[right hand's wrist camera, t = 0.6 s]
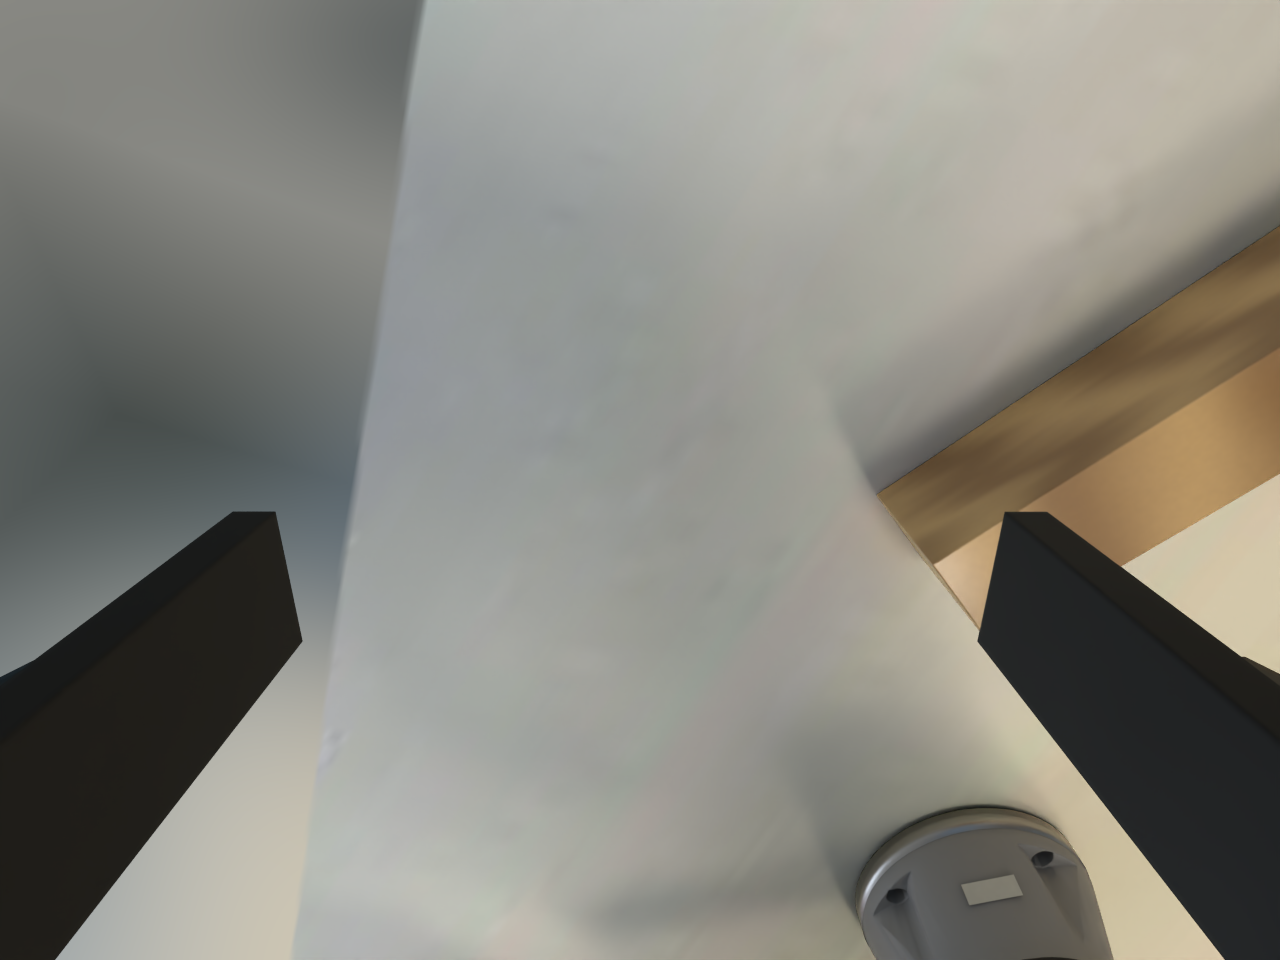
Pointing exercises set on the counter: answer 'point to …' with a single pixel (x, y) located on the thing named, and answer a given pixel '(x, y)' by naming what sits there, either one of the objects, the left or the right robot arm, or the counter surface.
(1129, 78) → the counter surface
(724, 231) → the counter surface
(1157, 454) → the post
